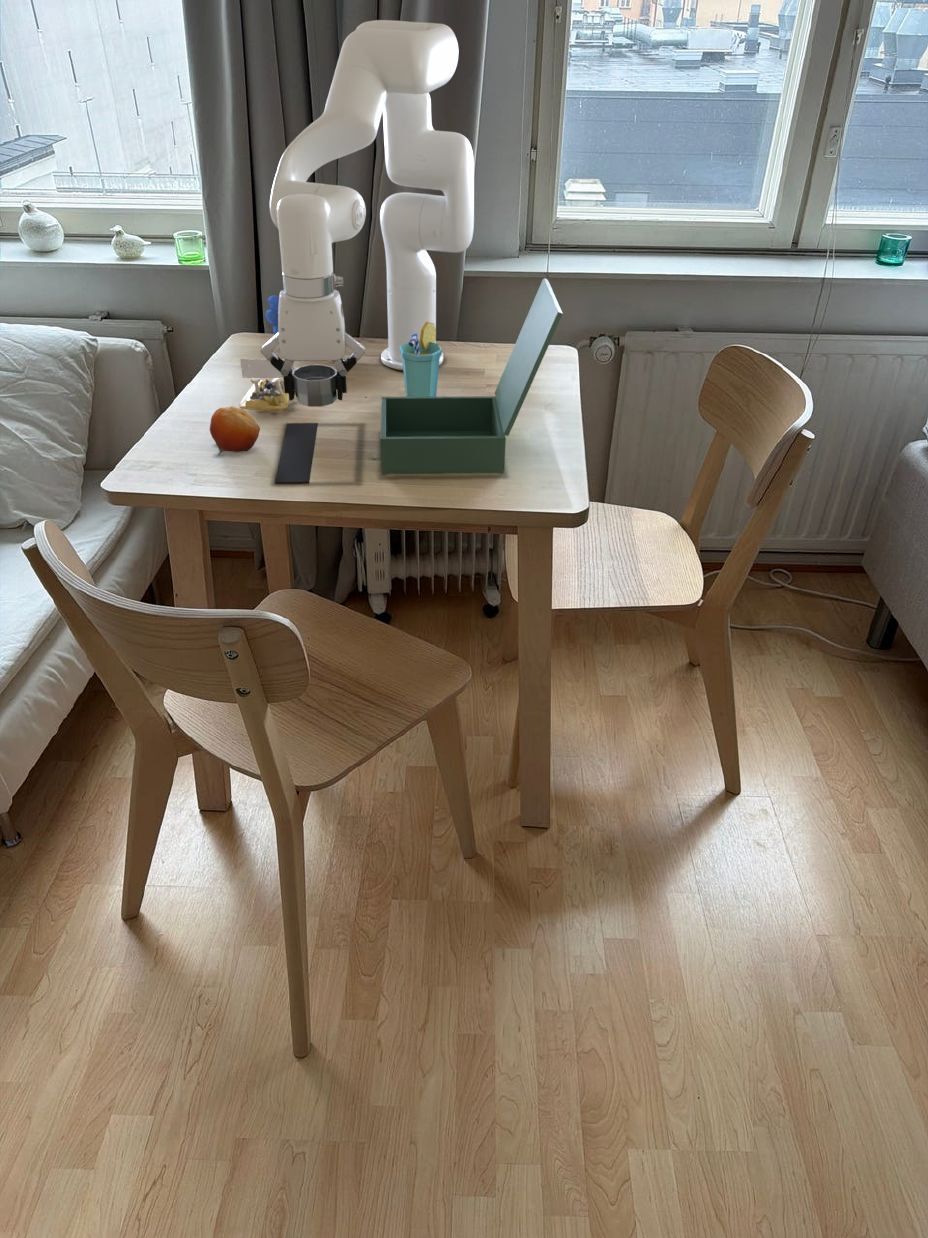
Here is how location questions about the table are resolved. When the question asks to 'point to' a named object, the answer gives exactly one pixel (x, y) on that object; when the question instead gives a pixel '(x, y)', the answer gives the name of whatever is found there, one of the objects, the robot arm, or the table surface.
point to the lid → (527, 355)
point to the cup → (421, 363)
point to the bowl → (315, 385)
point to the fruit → (233, 429)
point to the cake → (264, 386)
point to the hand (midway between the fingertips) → (316, 396)
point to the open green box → (441, 435)
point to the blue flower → (273, 312)
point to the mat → (297, 454)
